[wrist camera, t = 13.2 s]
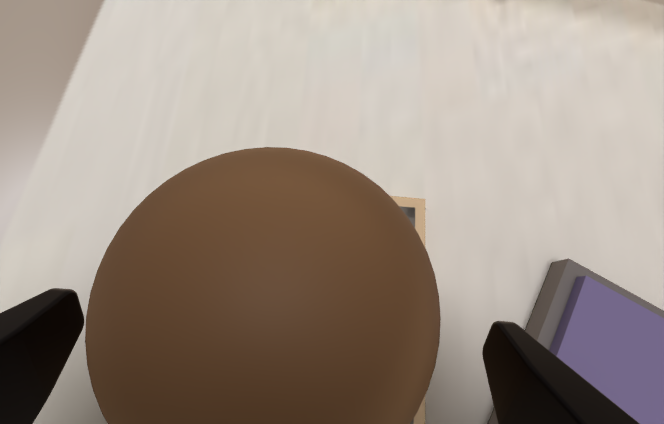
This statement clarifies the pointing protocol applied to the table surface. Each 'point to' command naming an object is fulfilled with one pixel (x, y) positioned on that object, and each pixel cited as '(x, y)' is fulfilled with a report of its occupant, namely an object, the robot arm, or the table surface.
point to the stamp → (264, 299)
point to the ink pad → (603, 338)
